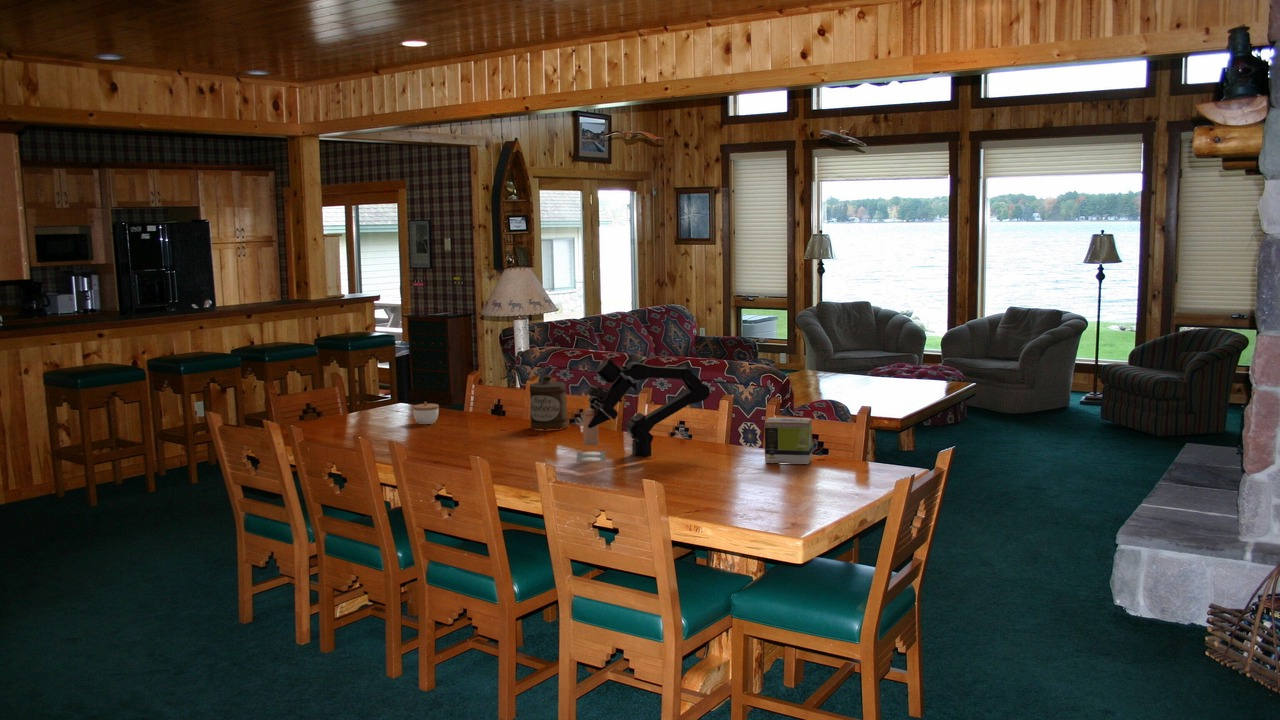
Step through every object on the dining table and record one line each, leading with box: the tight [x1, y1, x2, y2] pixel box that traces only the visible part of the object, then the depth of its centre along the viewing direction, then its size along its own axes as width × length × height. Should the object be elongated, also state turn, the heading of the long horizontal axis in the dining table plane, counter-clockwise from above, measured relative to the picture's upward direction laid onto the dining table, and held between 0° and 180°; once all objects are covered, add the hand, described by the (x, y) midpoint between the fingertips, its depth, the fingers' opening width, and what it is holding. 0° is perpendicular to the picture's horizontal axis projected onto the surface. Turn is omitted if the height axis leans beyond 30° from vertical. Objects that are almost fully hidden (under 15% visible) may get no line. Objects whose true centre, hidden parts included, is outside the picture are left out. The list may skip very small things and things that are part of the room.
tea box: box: [764, 417, 813, 465], centre depth 345 cm, size 15×10×15 cm, turn 74°
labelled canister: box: [529, 374, 568, 430], centre depth 413 cm, size 15×15×22 cm
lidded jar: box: [412, 401, 440, 425], centre depth 428 cm, size 11×11×9 cm
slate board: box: [576, 451, 607, 463], centre depth 355 cm, size 16×10×1 cm, turn 3°
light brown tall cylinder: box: [582, 408, 599, 446], centre depth 349 cm, size 5×5×12 cm
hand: (586, 426), depth 349 cm, fingers closed on light brown tall cylinder, 5 cm apart
